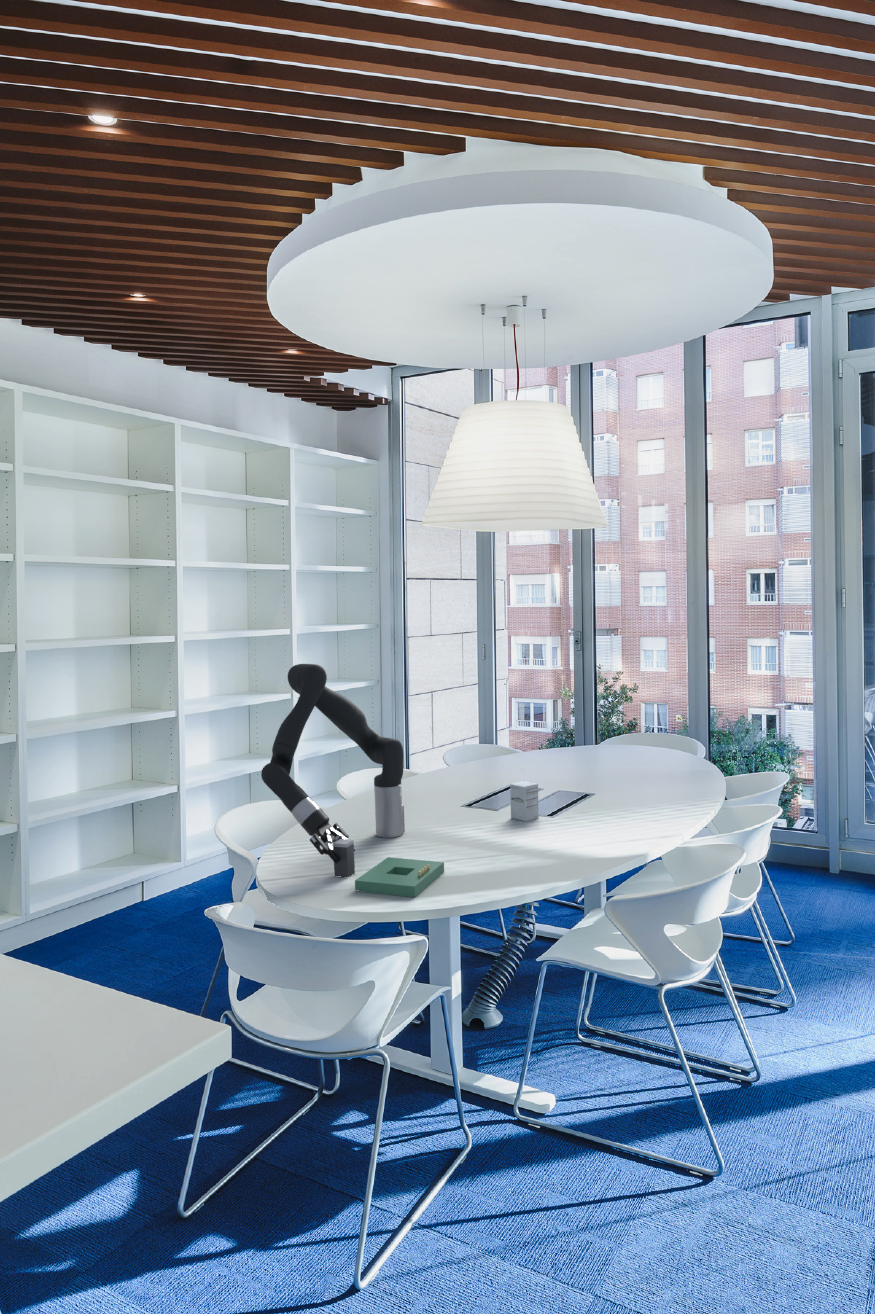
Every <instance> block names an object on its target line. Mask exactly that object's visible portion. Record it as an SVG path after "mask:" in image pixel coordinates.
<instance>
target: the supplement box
mask: <svg viewBox="0 0 875 1314" xmlns="http://www.w3.org/2000/svg"><path fill="white" fill-rule="evenodd" d="M509 787H510V819H514V820H518V821H522V822H530V821H533V820H536V819H538V818H539V817H540V815H539V814H540V813H539V784H538V783H536V782H531V781H530V782H529V781H527V780H526V781H525V780H521V781H517V782H513V783H510V786H509Z"/></svg>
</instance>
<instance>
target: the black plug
mask: <svg viewBox="0 0 875 1314" xmlns="http://www.w3.org/2000/svg"><path fill="white" fill-rule="evenodd" d="M354 845H355V842H354V839H348V840H347V839H339V840H337V841H336V842H334V843H332V848H333V849H334V850H335V851H336V852H337V854H338V855H339V856H340V857H341V860H340V861H339V862H338V863H337V864H336V863H335V862H334V861H333V873H334V877H335V876H341V877H340V878H344V877H349V876H350V877H352V876H353V875H355V873H356V871H355V869H356V868H355V867H356V866H355V852H354V849H355V846H354ZM333 849H332V850H333ZM352 874H353V875H352ZM351 875H352V876H351ZM350 877H349V878H350Z"/></svg>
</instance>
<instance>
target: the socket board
mask: <svg viewBox="0 0 875 1314" xmlns="http://www.w3.org/2000/svg"><path fill="white" fill-rule="evenodd" d="M444 873H445V862H444V861H435V860H425V859H424V860H423V859H413V858H401V857H386V858H384V859H383V860H382V861H380V862H379V863H377V864H376V865H375V866H373V867H372V868H371V869H369V870H367V871H366V872H364V873H363V874H362V875H361V876H359V877H358V878H356V879H355V880H354V891H355V890H359V891H358V892H360V891H364V892H363V893H370V894H379V895H380V894H381V895H387V896H388V895H390V896H398V895H401V896H400V897H407V896H408V897H410V898H416V897H417V896H418V895H419V894H421V893H422V892H423V891H424V890H425V889H427V888H428V887H429V886H430V885H431V884H432V883H434V882H435V881H436V880H437V879H438V878H439V877H441V875H443V874H444Z"/></svg>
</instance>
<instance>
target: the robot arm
mask: <svg viewBox="0 0 875 1314" xmlns="http://www.w3.org/2000/svg"><path fill="white" fill-rule="evenodd" d="M327 679H328V675H327V672H326V670H325V668H324V667H323V666H322V665H319V664H317V663H316V664H314V663H298V664H297V663H296V664H295V665H293V666H292V667H290V668H289V670H288V673H287V681H288V684H289V687H290V688H291V689H292V690H293V691H294V692H295V693H297V694H298V695H299V697H298V698H297V699H298V700H297V701H296V703H295V705H294V707H293V708H292V710H291V711H290V712H289V713H288V714H287V716H286V717H285V718H284V720H283V721H282V723H281V725H280V726H279V729H278V731H277V733H276V735H275V739H274V742H273V745H272V748H271V752H272V754H271V755H272V756H271V758H270V762H268V763H267V764H265V765H264V766H263V767H262V769H261V772H260V773H261V775H260V776H261V780H262V782H263V783H264V784H265V785H266V786H267V787H268V789H270V790H271V791H272V792H273V794H274V795H276V796H277V797H278V798H279V800H280V801H281V802H282V803H283V805H284V806H285V808H286V809H287V810H288V811H289V812H290V814H291V815H292V816H293V818H294V819H295V820H296V822H298V824H299V825H300V827H302V828H303V830H304V831H305V832H306V833H307V834H308V835H309V836H310V839H309V841H310V843H311V844H312V845H313V847H314V848H315V849H316V851H318V853H319V854H320V855H322V856H324V855H326V856H327V855H328V857H329V858H330V859H331V860H332V861H333V863H334V862H335V863H336V864H337V863H338V862H339V861H340V860H341V857H340V856H339V855H338V854H337V852H336V851H335V850H334V849H333V843H334V842H336V841H337V840H339V839H347V840H349V838H350V835H349V834H348V833H347V832H346V831H345V830H344V829H343V827H341V826H340V825H339V824H338V823H337V822H335V823H334V824H333V825H331V824H330V817H329V816H328V815H327V814H326V812H324V811H323V809H322V808H321V807H320V806H319V805H318V804H317V802H316V801H314V799H312V798H311V797H310V796H309V795H308V794H307V793H306V791H304V789H303V788H302V787H301V786H300V785H298V784H297V783H296V782H295V780H294V779H293V778H292V777H291V770H292V766H293V760H294V757H295V754H296V750H297V748H298V746H299V742H300V740H301V736H302V734H303V732H304V728H305V726H306V723H307V721H308V720H309V718H310V716H311V714H312V712H313V710H314V709H315V708H316V709H318V710H319V711H320V713H322V714H323V716H325V717H326V718H327V719H328V720H329V721H330V722H332V724H333V725H334V726H335V727H337V729H339V730H340V731H341V732H343V733H344V734H345V735H346V736H347V737H348V738H349V739H350V740H351V741H353V743H355V744H356V745H357V746H358V747H359V748H360V749H361V751H363V753H365V755H366V757H368V758H369V759H370V760H371V761H372V762H374V763H375V764H378V765H382V769H381V770H382V771H381V773H380V774H378V775H375V776H374V778H373V786H374V787H373V789H374V808H375V809H374V810H375V835H376V836H377V837H379V838H384V839H385V838H387V839H389V838H397V837H400V836H402V835H403V834H404V833H405V832H406V831H405V830H406V829H405V806H404V805H403V796H402V795H403V793H402V780H403V775H404V747H403V745H402V742H401V741H400V740H399V739H397V738H393V737H385V736H381V735H379V734H378V733H376V732H375V731H374V730H373V729H371V727H370V726H369V725H368V722H367V718H366V716H365V713H363V711H362V710H361V709H360V708H359V707H358V706H357V705H356V704H355V703H354V702H353V701H352V700H350V699H349V698H347V697H345V696H344V695H342V694H340V693H338V692H336V691H334V690H333V689H330V688H329V687H327V686H326V684H327V681H328V680H327ZM355 851H356V850H355V848H354V853H355Z"/></svg>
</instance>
